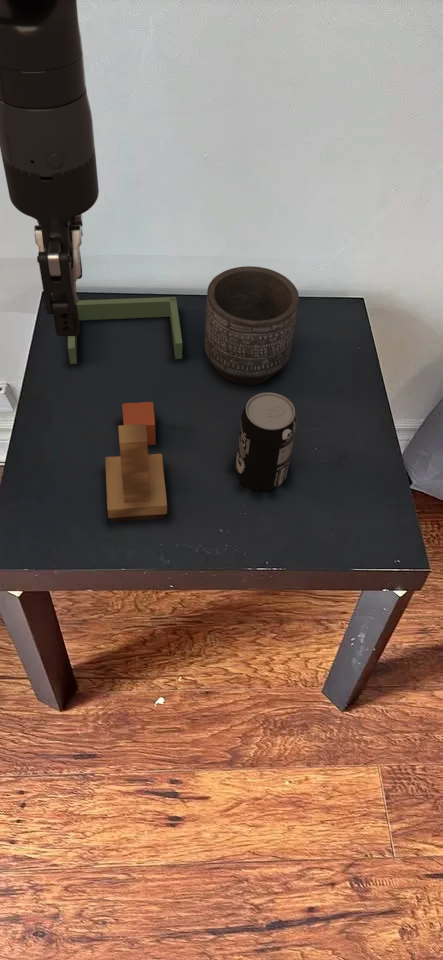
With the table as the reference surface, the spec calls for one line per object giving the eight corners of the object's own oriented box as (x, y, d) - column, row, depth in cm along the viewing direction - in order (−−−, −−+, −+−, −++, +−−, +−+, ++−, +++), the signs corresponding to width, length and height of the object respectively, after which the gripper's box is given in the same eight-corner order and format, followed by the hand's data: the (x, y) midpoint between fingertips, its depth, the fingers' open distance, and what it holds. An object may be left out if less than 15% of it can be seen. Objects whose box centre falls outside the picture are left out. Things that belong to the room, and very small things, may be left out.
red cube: (125, 446, 98) (123, 426, 94) (123, 424, 100) (122, 403, 97) (155, 444, 98) (155, 424, 95) (153, 422, 100) (153, 401, 97)
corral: (70, 364, 106) (67, 348, 104) (69, 316, 113) (67, 300, 110) (182, 358, 108) (182, 343, 106) (175, 312, 115) (175, 296, 112)
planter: (303, 379, 107) (317, 308, 97) (229, 406, 103) (236, 335, 93) (260, 327, 113) (268, 256, 103) (188, 351, 109) (190, 279, 99)
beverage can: (228, 460, 97) (234, 395, 88) (275, 450, 99) (286, 385, 89) (244, 499, 93) (253, 436, 84) (293, 488, 95) (307, 425, 85)
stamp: (109, 524, 90) (100, 449, 79) (106, 472, 95) (98, 394, 84) (167, 519, 91) (166, 445, 80) (162, 468, 96) (160, 391, 85)
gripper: (8, 102, 65) (36, 260, 77) (-9, 194, 56) (26, 355, 69) (95, 102, 65) (109, 259, 78) (93, 193, 57) (108, 353, 69)
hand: (70, 304), depth 73 cm, fingers open, 8 cm apart
